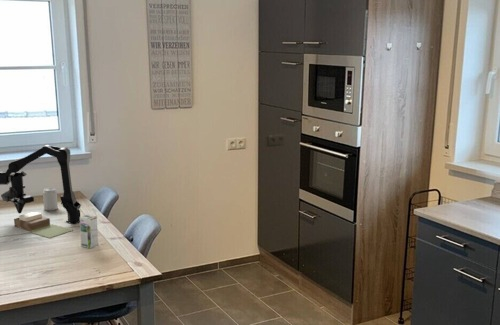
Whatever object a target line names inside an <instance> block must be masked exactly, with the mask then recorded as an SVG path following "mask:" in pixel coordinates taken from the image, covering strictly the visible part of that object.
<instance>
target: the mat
mask: <svg viewBox="0 0 500 325" xmlns="http://www.w3.org/2000/svg"><path fill="white" fill-rule="evenodd" d="M70 232H74V229H71V228H67V227H64V226H61V225H60V226H59V225H57V224H54V223H53V224H50V225H48V226H45V227H42V228H39V229H35V230H32V231H28V233H30V234H33V235H37V236H40V237H43V238H48V239H52V238H55V237H58V236H61V235H63V234H66V233H67V234H68V233H70Z"/></svg>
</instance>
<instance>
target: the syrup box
mask: <svg viewBox="0 0 500 325" xmlns="http://www.w3.org/2000/svg"><path fill="white" fill-rule="evenodd" d="M79 232H80V247H81V248H82V247H83V248H86V249H92V248H94V247H97V246H99V234H98V233H99V232H98V216H97V215H93V214H83V215H80V222H79Z"/></svg>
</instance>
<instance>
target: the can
mask: <svg viewBox="0 0 500 325" xmlns="http://www.w3.org/2000/svg"><path fill="white" fill-rule="evenodd" d="M42 199H43V201H42V202H43V209H44V210H45V211H49V212H51V211H56V210H57V208H59V207H58V192H57V190H56V187H55V188H54V187H47V188H43V191H42Z"/></svg>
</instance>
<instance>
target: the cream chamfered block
mask: <svg viewBox="0 0 500 325" xmlns="http://www.w3.org/2000/svg"><path fill="white" fill-rule="evenodd" d="M42 216H43V215H42V213H41V212H37V211H32V212H28V213H24V214H21V215H19V216H18V218H19V220H23V221H26V222H27V221H30V220H34V219H37V218H41V217H42Z"/></svg>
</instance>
